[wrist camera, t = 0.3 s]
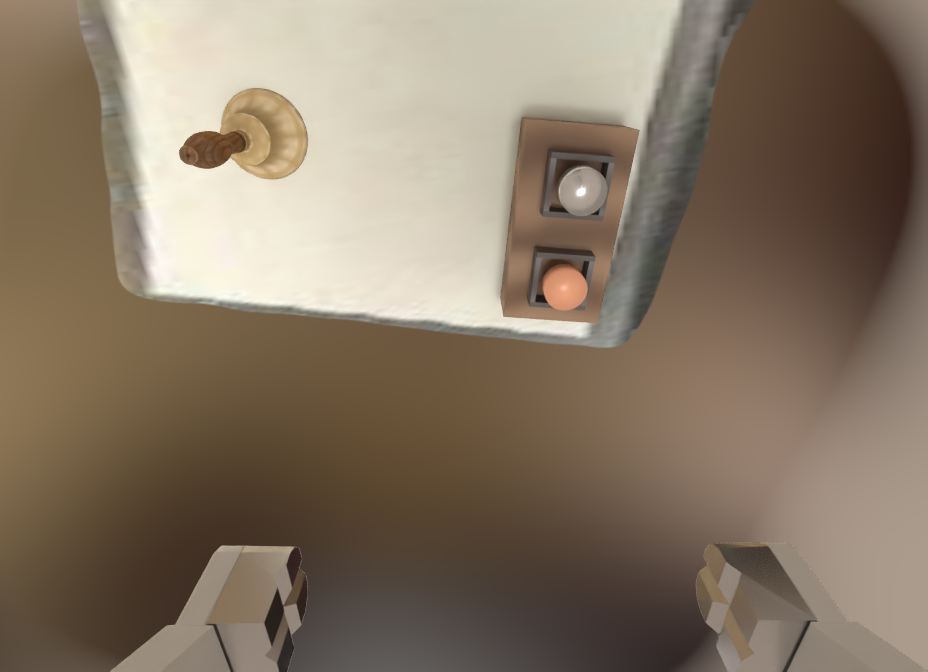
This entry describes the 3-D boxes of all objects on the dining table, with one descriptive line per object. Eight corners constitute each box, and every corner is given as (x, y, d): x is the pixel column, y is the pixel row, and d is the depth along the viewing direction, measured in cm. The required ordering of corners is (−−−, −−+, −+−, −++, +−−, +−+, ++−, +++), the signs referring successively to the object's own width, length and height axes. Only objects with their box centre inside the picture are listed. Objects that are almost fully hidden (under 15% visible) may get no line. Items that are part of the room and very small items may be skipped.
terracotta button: (544, 262, 47) (548, 268, 45) (586, 265, 47) (591, 272, 46) (538, 300, 49) (541, 309, 47) (578, 303, 49) (583, 311, 47)
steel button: (560, 162, 43) (564, 166, 41) (605, 166, 43) (611, 170, 42) (553, 209, 45) (556, 214, 43) (596, 212, 45) (602, 217, 43)
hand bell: (272, 70, 46) (187, 64, 32) (324, 152, 50) (268, 180, 36) (204, 117, 48) (95, 130, 34) (259, 193, 52) (181, 235, 37)
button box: (521, 117, 48) (530, 122, 42) (623, 125, 49) (646, 131, 42) (500, 298, 57) (505, 324, 51) (587, 304, 57) (602, 331, 51)
